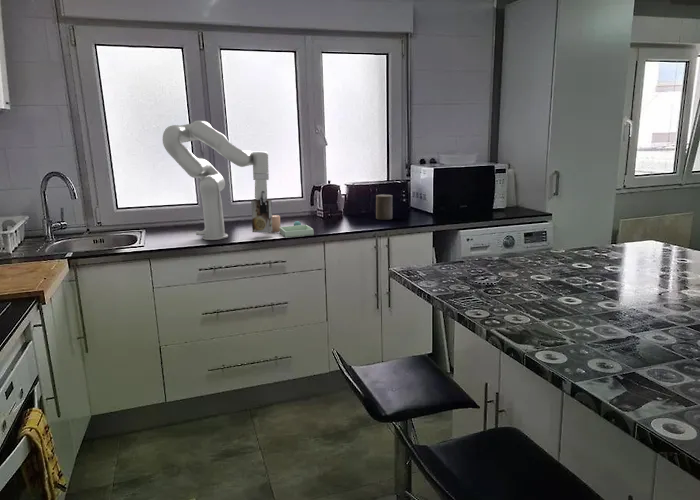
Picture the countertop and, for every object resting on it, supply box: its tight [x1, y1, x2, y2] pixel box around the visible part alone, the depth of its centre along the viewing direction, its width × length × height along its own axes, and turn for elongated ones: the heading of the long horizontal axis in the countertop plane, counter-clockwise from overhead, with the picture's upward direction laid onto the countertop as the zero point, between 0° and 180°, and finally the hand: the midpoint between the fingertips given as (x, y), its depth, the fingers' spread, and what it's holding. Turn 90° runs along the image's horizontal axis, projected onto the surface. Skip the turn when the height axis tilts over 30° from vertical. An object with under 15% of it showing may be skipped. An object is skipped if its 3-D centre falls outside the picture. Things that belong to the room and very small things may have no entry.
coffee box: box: [250, 198, 273, 234], centre depth 256 cm, size 9×6×16 cm
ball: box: [293, 220, 302, 226], centre depth 278 cm, size 4×4×4 cm
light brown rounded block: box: [270, 214, 282, 233], centre depth 272 cm, size 7×7×8 cm
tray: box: [279, 224, 315, 239], centre depth 263 cm, size 15×15×3 cm
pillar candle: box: [375, 194, 393, 221], centre depth 299 cm, size 10×10×15 cm
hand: (261, 211), depth 255 cm, fingers closed on coffee box, 8 cm apart
